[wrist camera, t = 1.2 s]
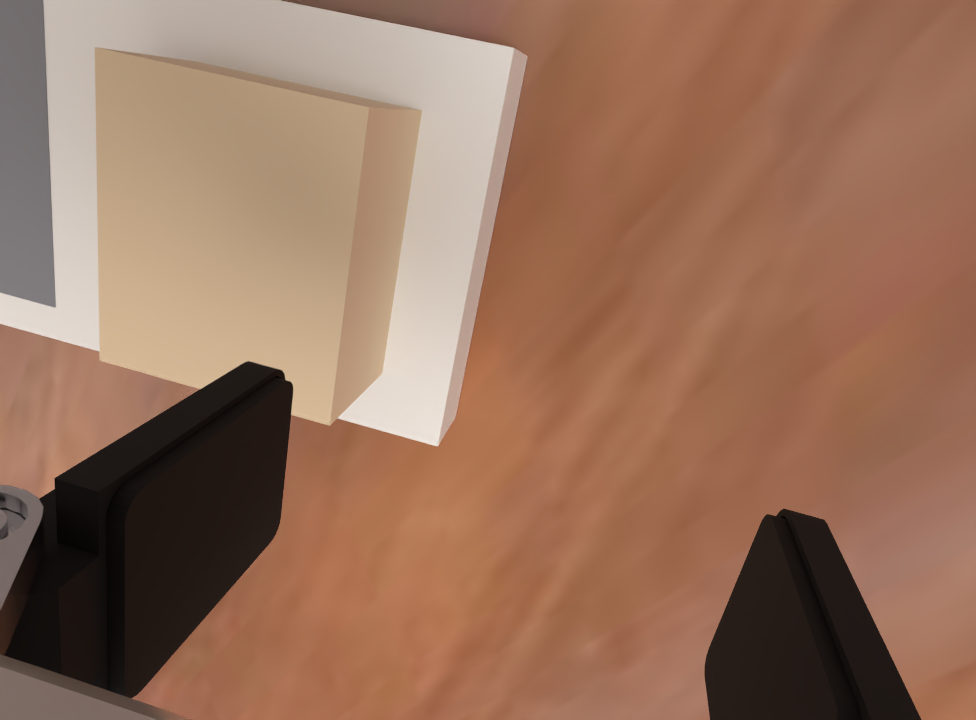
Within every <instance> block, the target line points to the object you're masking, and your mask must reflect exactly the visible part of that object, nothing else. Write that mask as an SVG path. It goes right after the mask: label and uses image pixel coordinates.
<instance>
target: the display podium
mask: <svg viewBox="0 0 976 720" xmlns="http://www.w3.org/2000/svg"><path fill="white" fill-rule="evenodd" d="M95 47H97V48H104V49H111V50H118V51H126V52H133V53H140V54H147V55H154V56H161V57H168V58H175V59H182V60H189V61H196V62H201V63H206V64H210V65H215V66H220V67H224V68H229V69H233V70H238V71H243V72H247V73H252V74H256V75H261V76H265V77H270V78H275V79H279V80H284V81H288V82H293V83H298V84H302V85H307V86H311V87H316V88H320V89H325V90H330V91H334V92H339V93H343V94H348V95H353V96H357V97H362V98H366V99H371V100H375V101H380V102H385V103H389V104H394V105H398V106H403V107H408V108H412V109H417V110H421V111H422V114H421V121H420V127H419V134H418V141H417V147H416V154H415V161H414V167H413V174H412V180H411V187H410V194H409V200H408V207H407V213H406V220H405V227H404V233H403V240H402V247H401V253H400V260H399V266H398V273H397V280H396V286H395V293H394V299H393V306H392V313H391V319H390V326H389V333H388V339H387V346H386V352H385V359H384V366H383V372H382V374H381V375H380V376H379V377H378V378H377V379H376V380H375V381H374V382H373V383H372V384H371V385H370V386H369V387H368V388H367V389H366V390H365V391H364V392H363V393H362V394H361V395H360V396H359V397H358V398H357V399H356V400H355V401H354V402H353V403H352V404H351V405H350V406H349V407H348V408H347V409H346V410H345V411H344V412H343V413H342V414H341V415H340V416H339V417H338V419H342V420H345V421H349V422H352V423H356V424H359V425H363V426H367V427H370V428H374V429H377V430H381V431H384V432H388V433H391V434H395V435H399V436H402V437H406V438H409V439H413V440H416V441H420V442H424V443H427V444H431V445H434V446H438V445H439V443H440V442H441V440H442V438H443V437H444V435H445V434H446V432H447V430H448V429H449V427H450V425H451V424H452V422H453V420H454V419H455V417H456V413H457V408H458V403H459V398H460V393H461V388H462V383H463V378H464V373H465V368H466V363H467V358H468V353H469V348H470V343H471V338H472V333H473V328H474V323H475V318H476V313H477V308H478V303H479V298H480V293H481V288H482V283H483V278H484V273H485V268H486V263H487V258H488V253H489V248H490V243H491V238H492V233H493V228H494V223H495V218H496V213H497V208H498V203H499V198H500V193H501V188H502V183H503V178H504V173H505V168H506V163H507V158H508V153H509V148H510V143H511V138H512V133H513V128H514V123H515V118H516V113H517V108H518V103H519V98H520V93H521V88H522V83H523V78H524V73H525V68H526V63H527V58H528V56H526V55H525V54H523V53H522V52H520V51H518V50H517V49H515V48H512V47H507V46H502V45H498V44H493V43H488V42H483V41H478V40H473V39H468V38H463V37H458V36H453V35H448V34H443V33H438V32H433V31H429V30H424V29H419V28H414V27H409V26H404V25H399V24H394V23H389V22H384V21H379V20H374V19H369V18H364V17H359V16H355V15H350V14H345V13H340V12H335V11H330V10H325V9H320V8H315V7H310V6H305V5H300V4H295V3H290V2H286V1H281V0H0V324H3V325H7V326H10V327H14V328H18V329H21V330H25V331H28V332H32V333H35V334H39V335H42V336H46V337H50V338H53V339H57V340H60V341H64V342H67V343H71V344H75V345H78V346H82V347H85V348H89V349H92V350H96V351H99V352H100V344H99V283H98V221H97V159H96V98H95Z"/></svg>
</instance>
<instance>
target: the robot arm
mask: <svg viewBox="0 0 976 720" xmlns="http://www.w3.org/2000/svg"><path fill="white" fill-rule="evenodd" d="M292 400H293V384H292V383H291V382H290V381H287V380H285V374H284V372H283V371H282V370H279V369H276V368H272V367H269V366H265V365H261V364H258V363H254V362H250V361H247V362H244V363H243V364H241V365H239V366H238V367H236V368H234V369H233V370H231V371H230V372H228V373H226V374H225V375H223V376H221V377H220V378H218V379H216V380H215V381H213V382H212V383H210V384H208V385H207V386H205V387H203V388H202V389H200V390H198V391H197V392H195V393H194V394H192V395H190V396H189V397H187V398H185V399H184V400H182V401H180V402H179V403H177V404H176V405H174V406H172V407H171V408H169V409H167V410H166V411H164V412H162V413H161V414H159V415H158V416H156V417H154V418H153V419H151V420H149V421H148V422H146V423H144V424H143V425H141V426H139V427H138V428H136V429H135V430H133V431H131V432H130V433H128V434H126V435H125V436H123V437H121V438H120V439H118V440H117V441H115V442H113V443H112V444H110V445H108V446H107V447H105V448H103V449H102V450H100V451H99V452H97V453H95V454H94V455H92V456H90V457H89V458H87V459H85V460H84V461H82V462H81V463H79V464H77V465H76V466H74V467H72V468H71V469H69V470H67V471H66V472H64V473H63V474H61V475H59V476H58V477H56V478H55V489H54V490H53V491H51V492H49V493H48V494H46V495H45V496H43V497H42V498H40V499H39V498H38V497H36V496H35V495H33V494H32V493H30V492H29V491H27V490H24V489H20V488H17V487H13V486H8V485H0V720H192V719H190V718H187V717H184V716H181V715H178V714H175V713H172V712H169V711H166V710H163V709H160V708H157V707H154V706H152V705H149V704H146V703H143V702H140V701H137V700H134V699H131V698H133V697H134V696H136V695H137V694H138V693H139V692H140V691H141V690H142V689H143V688H144V687H145V686H146V685H147V684H148V682H149V681H150V680H151V679H152V678H153V677H154V676H155V674H156V673H157V672H158V671H159V670H160V669H161V667H162V666H163V665H164V664H165V663H166V662H167V661H168V659H169V658H170V657H171V656H172V655H173V654H174V653H175V651H176V650H177V649H178V648H179V647H180V646H181V645H182V643H183V642H184V641H185V640H186V639H187V638H188V636H189V635H190V634H191V633H192V632H193V631H194V630H195V628H196V627H197V626H198V625H199V624H200V623H201V622H202V620H203V619H204V618H205V617H206V616H207V615H208V614H209V612H210V611H211V610H212V609H213V608H214V607H215V605H216V604H217V603H218V602H219V601H220V600H221V599H222V597H223V596H224V595H225V594H226V593H227V592H228V591H229V589H230V588H231V587H232V586H233V585H234V584H235V583H236V581H237V580H238V579H239V578H240V577H241V576H242V574H243V573H244V572H245V571H246V570H247V569H248V568H249V566H250V565H251V564H252V563H253V562H254V561H255V560H256V558H257V557H258V556H259V555H260V554H261V553H262V552H263V550H264V549H265V548H266V547H267V546H268V545H269V543H270V542H271V541H272V540H273V538H274V536H275V534H276V532H277V530H278V527H279V524H280V518H281V509H282V499H283V489H284V479H285V469H286V460H287V450H288V440H289V430H290V420H291V410H292ZM705 682H706V690H707V698H708V706H709V714H710V720H921V718H920V716H919V714H918V712H917V710H916V708H915V706H914V703H913V701H912V699H911V697H910V695H909V693H908V691H907V689H906V687H905V685H904V683H903V681H902V679H901V676H900V674H899V672H898V670H897V668H896V666H895V664H894V662H893V660H892V658H891V656H890V654H889V651H888V649H887V647H886V645H885V643H884V641H883V639H882V637H881V635H880V633H879V631H878V629H877V627H876V625H875V623H874V621H873V618H872V616H871V614H870V612H869V610H868V608H867V606H866V604H865V602H864V600H863V598H862V596H861V593H860V591H859V589H858V587H857V585H856V583H855V581H854V579H853V577H852V575H851V573H850V571H849V568H848V566H847V564H846V562H845V560H844V558H843V556H842V554H841V552H840V550H839V548H838V546H837V544H836V541H835V539H834V537H833V535H832V533H831V531H830V529H829V527H828V525H827V523H826V522H825V520H823V519H819V518H816V517H812V516H809V515H805V514H801V513H798V512H794V511H790V510H787V509H783V510H781V511H780V512H779V513H778V514H777V516H773V515H769V514H767V515H766V516H765V517H764V518H763V520H762V522H761V524H760V526H759V529H758V531H757V534H756V536H755V538H754V541H753V543H752V546H751V548H750V550H749V553H748V555H747V558H746V560H745V563H744V565H743V567H742V570H741V572H740V575H739V577H738V579H737V582H736V584H735V587H734V589H733V592H732V594H731V596H730V599H729V601H728V604H727V606H726V608H725V611H724V613H723V616H722V618H721V621H720V623H719V625H718V628H717V630H716V633H715V635H714V637H713V640H712V642H711V645H710V647H709V650H708V653H707V657H706V662H705Z"/></svg>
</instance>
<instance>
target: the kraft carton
mask: <svg viewBox="0 0 976 720" xmlns="http://www.w3.org/2000/svg"><path fill="white" fill-rule="evenodd" d="M95 98H96V159H97V221H98V283H99V344H100V361H103V362H106V363H110V364H114V365H117V366H121V367H124V368H128V369H131V370H135V371H138V372H142V373H145V374H149V375H152V376H156V377H160V378H163V379H167V380H170V381H174V382H177V383H181V384H184V385H188V386H191V387H195V388H198V389H202V388H203V387H205V386H207V385H208V384H210V383H212V382H213V381H215V380H216V379H218V378H220V377H221V376H223V375H225V374H226V373H228V372H230V371H231V370H233V369H234V368H236V367H238V366H239V365H241V364H243V363H244V362H247V361H250V362H254V363H258V364H261V365H265V366H269V367H272V368H276V369H279V370H282V371H283V372H284V374H285V380H287V381H290V382H291V383H292V384H293V400H292V410H291V415H294V416H298V417H301V418H305V419H308V420H312V421H315V422H319V423H322V424H326V425H329V426H330V425H331V424H332V423H333V422H334V421H335V420H336V419H337V418H338V417H339V416H340V415H341V414H342V413H343V412H344V411H345V410H346V409H347V408H348V407H349V406H350V405H351V404H352V403H353V402H354V401H355V400H356V399H357V398H358V397H359V396H360V395H361V394H362V393H363V392H364V391H365V390H366V389H367V388H368V387H369V386H370V385H371V384H372V383H373V382H374V381H375V380H376V379H377V378H378V377H379V376H380V375H381V374H382V372H383V366H384V359H385V352H386V346H387V339H388V333H389V326H390V319H391V313H392V306H393V299H394V293H395V286H396V280H397V273H398V266H399V260H400V253H401V247H402V240H403V233H404V227H405V220H406V213H407V207H408V200H409V194H410V187H411V180H412V174H413V167H414V161H415V154H416V147H417V141H418V134H419V127H420V121H421V114H422V111H421V110H417V109H412V108H408V107H403V106H398V105H394V104H389V103H385V102H380V101H375V100H371V99H366V98H362V97H357V96H353V95H348V94H343V93H339V92H334V91H330V90H325V89H320V88H316V87H311V86H307V85H302V84H298V83H293V82H288V81H284V80H279V79H275V78H270V77H265V76H261V75H256V74H252V73H247V72H243V71H238V70H233V69H229V68H224V67H220V66H215V65H210V64H206V63H201V62H196V61H189V60H182V59H175V58H168V57H161V56H154V55H147V54H140V53H133V52H126V51H118V50H111V49H104V48H97V47H95Z"/></svg>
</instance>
